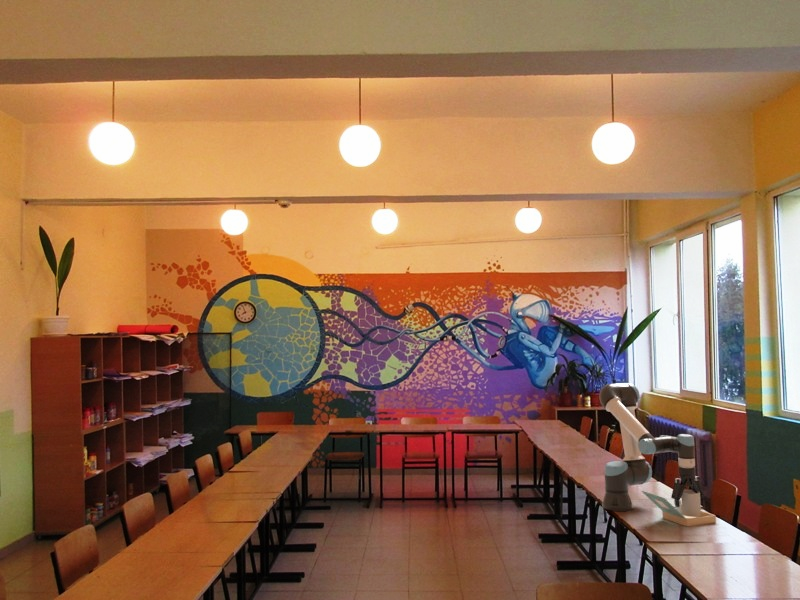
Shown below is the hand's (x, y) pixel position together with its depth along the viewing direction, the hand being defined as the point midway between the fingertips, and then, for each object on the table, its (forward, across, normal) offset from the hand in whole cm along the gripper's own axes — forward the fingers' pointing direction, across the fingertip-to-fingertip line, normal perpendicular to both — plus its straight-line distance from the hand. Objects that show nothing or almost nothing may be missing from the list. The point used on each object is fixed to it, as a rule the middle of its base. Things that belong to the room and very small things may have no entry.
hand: (688, 512), depth 333 cm
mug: (+1, 0, 0) cm, 1 cm away
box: (+4, 0, 0) cm, 4 cm away
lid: (-5, -15, 0) cm, 16 cm away
